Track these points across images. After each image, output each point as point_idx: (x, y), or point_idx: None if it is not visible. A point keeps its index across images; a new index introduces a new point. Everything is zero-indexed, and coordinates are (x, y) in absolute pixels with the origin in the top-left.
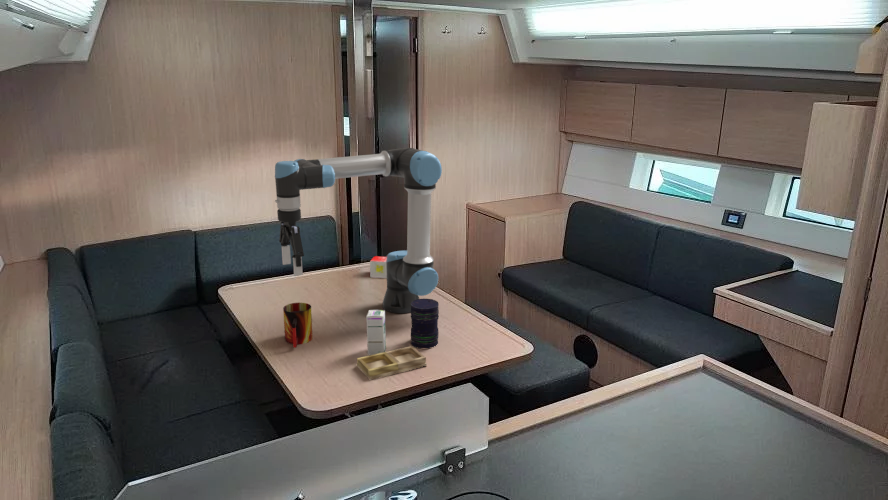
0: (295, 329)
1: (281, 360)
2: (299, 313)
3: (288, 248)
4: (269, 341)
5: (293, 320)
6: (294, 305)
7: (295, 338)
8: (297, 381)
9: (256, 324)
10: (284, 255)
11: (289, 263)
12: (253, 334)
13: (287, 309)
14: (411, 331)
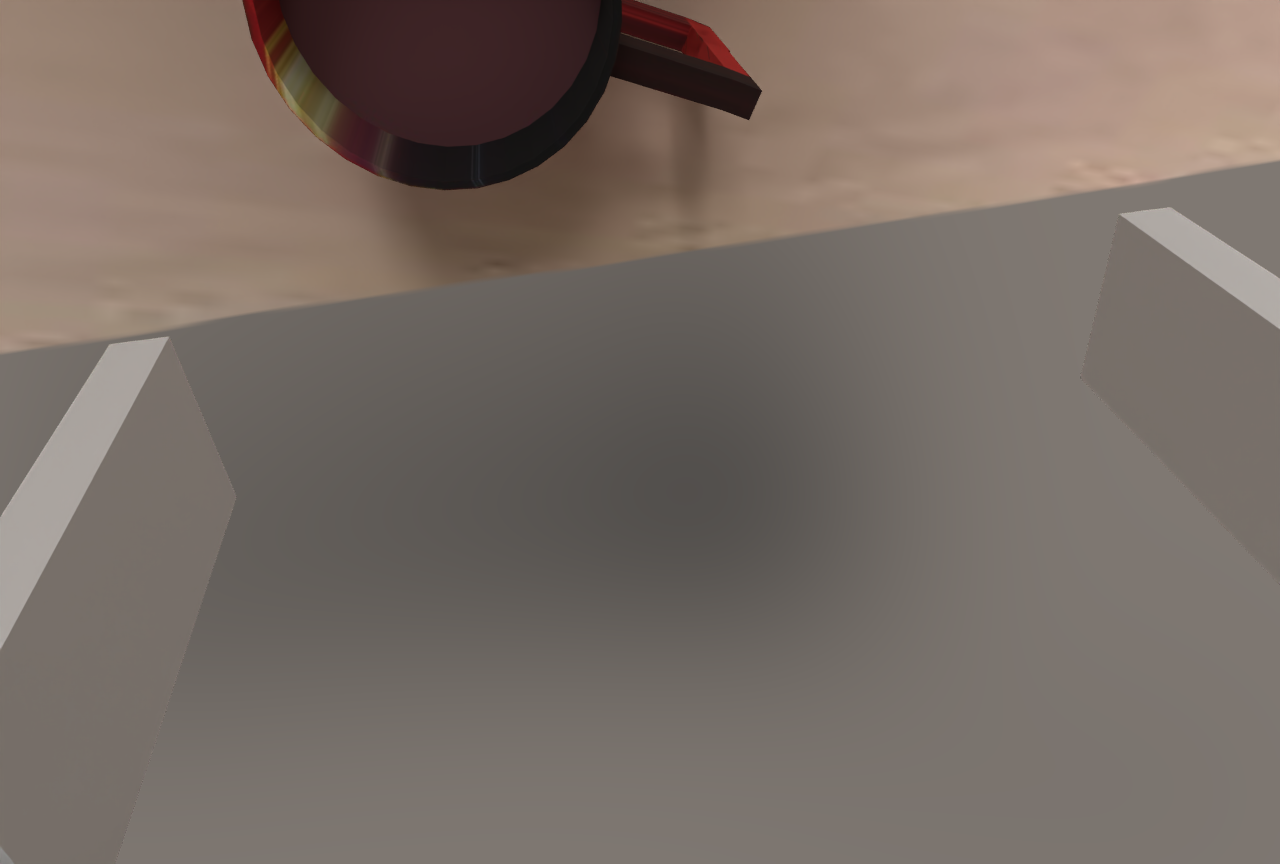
0: (732, 66)
1: (823, 167)
2: (621, 14)
3: (14, 720)
4: (436, 207)
5: (660, 88)
6: (262, 9)
7: (728, 51)
8: (1188, 113)
9: (17, 268)
10: (161, 638)
11: (177, 375)
12: (255, 308)
13: (323, 105)
14: None
